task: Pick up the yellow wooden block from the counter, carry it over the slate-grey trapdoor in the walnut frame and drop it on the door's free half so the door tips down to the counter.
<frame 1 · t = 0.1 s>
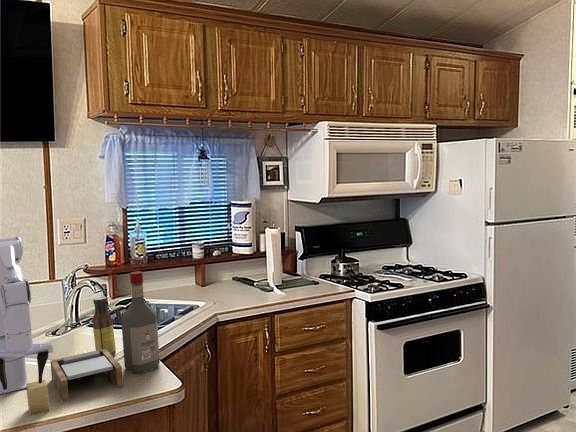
hand: (23, 385, 128), 10 cm above the countertop, fingers open, 7 cm apart
yellow wooden block: (38, 410, 136), on the countertop
trapdoor: (85, 365, 151), point 6 cm above the countertop, hinge at 0.0°
sauce bottle: (105, 357, 173), on the countertop
liquor: (142, 368, 163), on the countertop
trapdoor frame: (88, 385, 150), on the countertop
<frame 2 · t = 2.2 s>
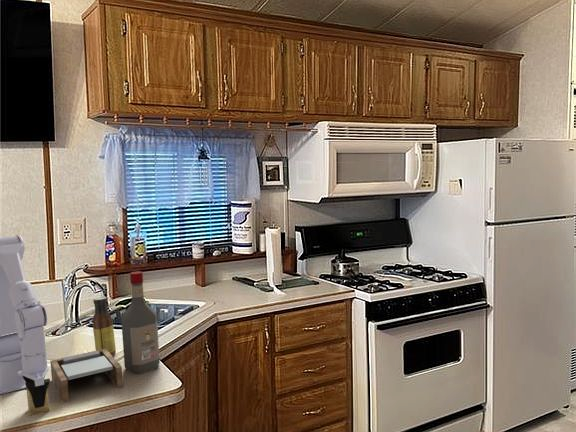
hand: (38, 403, 136), 2 cm above the countertop, fingers closed on yellow wooden block, 4 cm apart
yellow wooden block: (38, 410, 136), on the countertop, touching gripper
everything else where it was.
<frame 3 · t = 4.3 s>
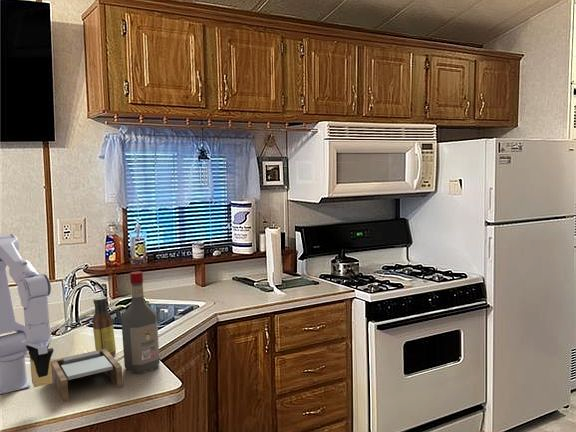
hand: (41, 372, 136), 9 cm above the countertop, fingers closed on yellow wooden block, 4 cm apart
yellow wooden block: (42, 382, 137), point 7 cm above the countertop, touching gripper
everything else where it was.
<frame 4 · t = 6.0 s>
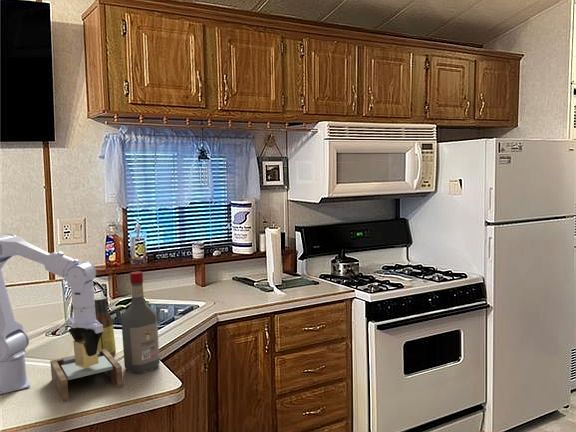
hand: (87, 353, 147), 10 cm above the countertop, fingers closed on yellow wooden block, 4 cm apart
yellow wooden block: (87, 364, 147), point 7 cm above the countertop, touching gripper
everything else where it was.
when the fingers open (10 cm above the countertop, at t = 6.8 s): yellow wooden block drops 3 cm, resting on trapdoor.
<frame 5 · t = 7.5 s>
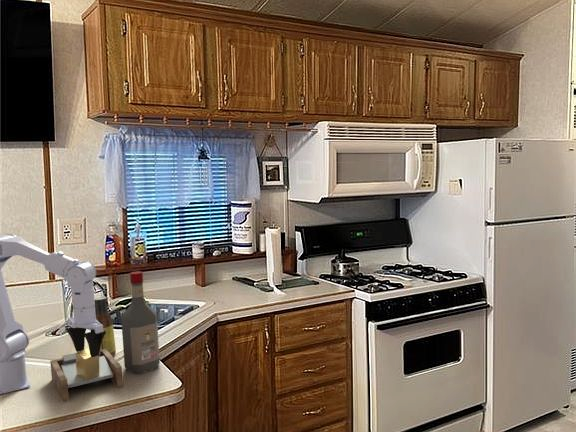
hand: (87, 353, 147), 10 cm above the countertop, fingers open, 7 cm apart
yellow wooden block: (88, 374, 148), point 4 cm above the countertop, tilted 13°, touching gripper, trapdoor
trapdoor: (85, 368, 151), point 5 cm above the countertop, hinge at -14.0°, touching yellow wooden block
everything else where it was.
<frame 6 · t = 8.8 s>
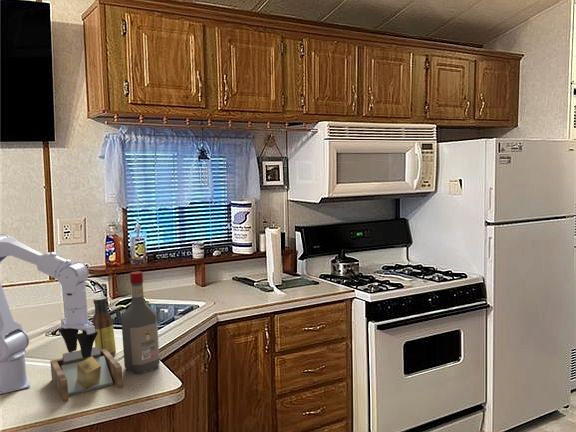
hand: (79, 354, 147), 10 cm above the countertop, fingers open, 7 cm apart
yellow wooden block: (88, 381, 148), point 2 cm above the countertop, tilted 30°, touching trapdoor
trapdoor: (85, 370, 152), point 4 cm above the countertop, hinge at -30.5°, touching yellow wooden block
everything else where it was.
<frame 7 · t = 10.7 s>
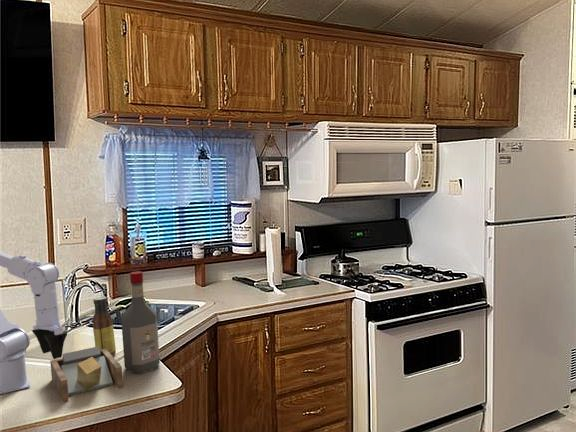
hand: (52, 355, 147), 10 cm above the countertop, fingers open, 7 cm apart
nothing on the countertop moved.
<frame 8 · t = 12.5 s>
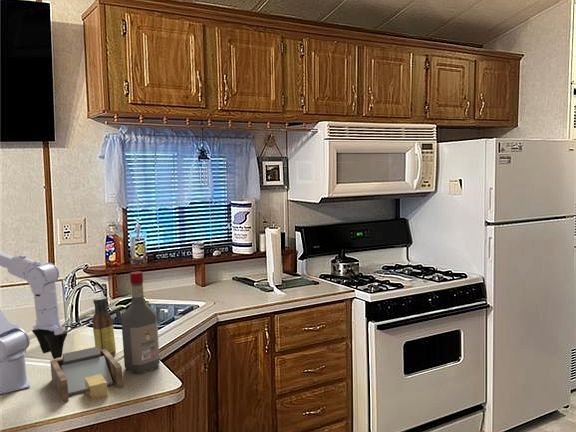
hand: (52, 355, 147), 10 cm above the countertop, fingers open, 7 cm apart
yellow wooden block: (93, 383, 147), point 2 cm above the countertop, tilted 90°
trapdoor: (85, 370, 152), point 4 cm above the countertop, hinge at -30.5°
everything else where it was.
at the end: yellow wooden block moved 15.3 cm from its start; yellow wooden block point 2.0 cm above the countertop; yellow wooden block inside the target area on the trapdoor (1.6 cm from its centre), point 3.8 cm above the trapdoor's base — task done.
